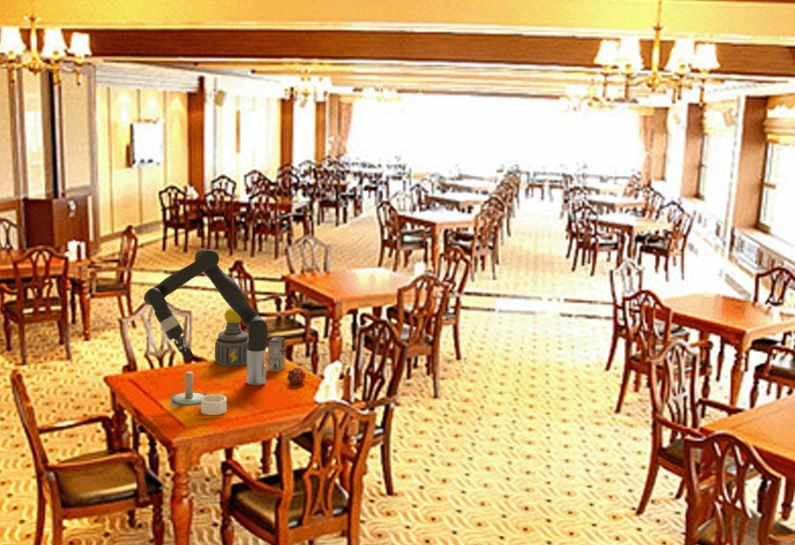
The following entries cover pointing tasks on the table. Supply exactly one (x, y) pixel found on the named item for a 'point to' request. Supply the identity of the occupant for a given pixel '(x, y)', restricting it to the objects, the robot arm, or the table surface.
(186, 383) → the lid
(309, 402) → the table surface
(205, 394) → the mat
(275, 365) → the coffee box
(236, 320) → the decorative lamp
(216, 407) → the bowl
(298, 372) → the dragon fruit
